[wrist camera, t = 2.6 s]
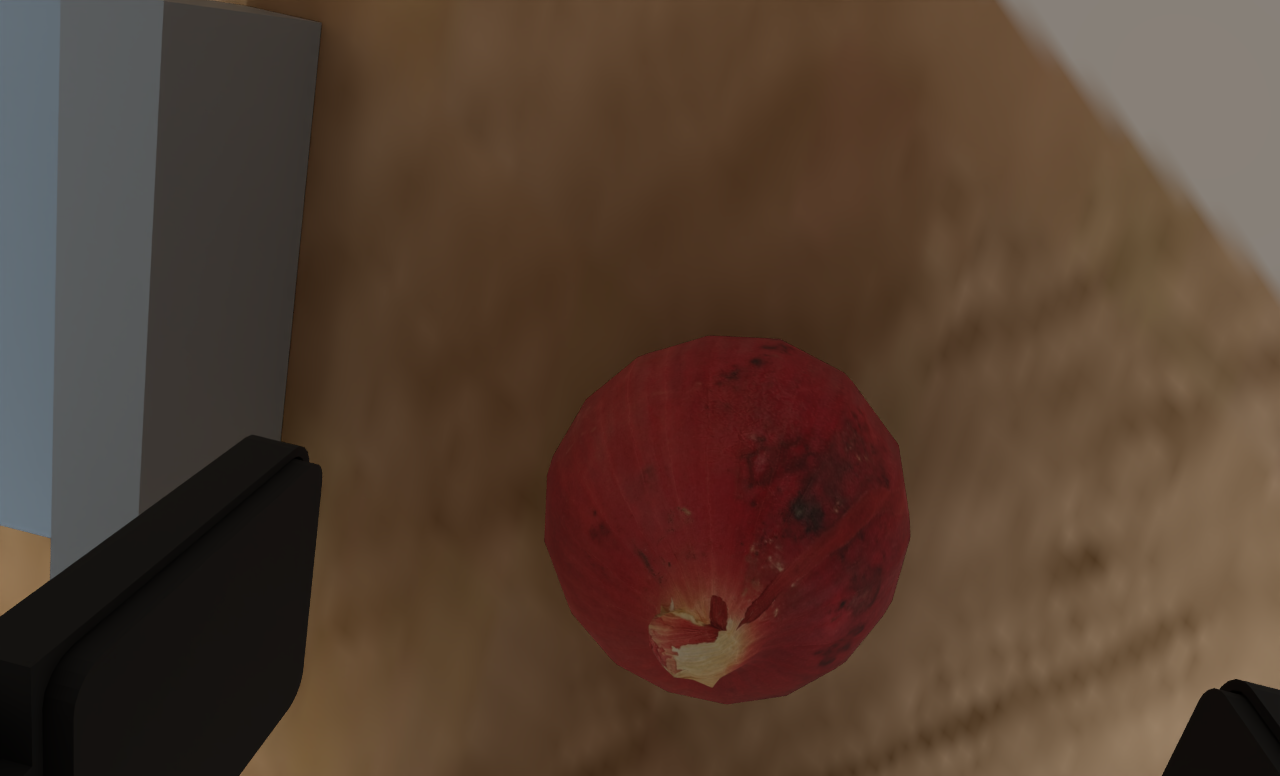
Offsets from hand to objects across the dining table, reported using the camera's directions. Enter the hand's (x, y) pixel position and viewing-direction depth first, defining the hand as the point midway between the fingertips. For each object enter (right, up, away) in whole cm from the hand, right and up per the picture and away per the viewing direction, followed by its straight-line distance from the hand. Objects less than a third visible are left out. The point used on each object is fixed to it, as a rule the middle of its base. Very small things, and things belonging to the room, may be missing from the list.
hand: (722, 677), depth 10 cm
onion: (+1, +2, +10) cm, 10 cm away
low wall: (-9, +4, +10) cm, 14 cm away
